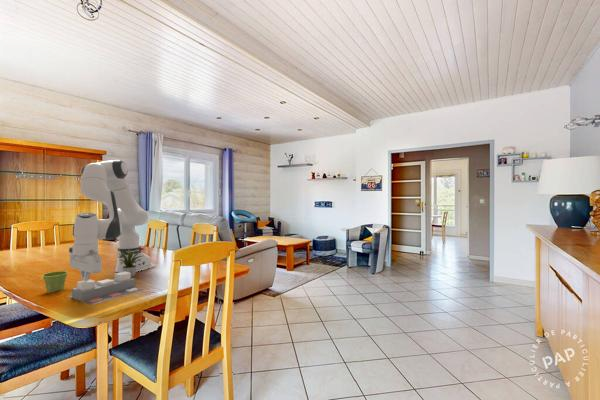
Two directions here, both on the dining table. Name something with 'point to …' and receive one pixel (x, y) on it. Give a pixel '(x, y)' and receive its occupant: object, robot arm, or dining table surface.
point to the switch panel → (105, 292)
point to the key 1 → (85, 285)
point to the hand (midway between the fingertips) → (85, 280)
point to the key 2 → (122, 276)
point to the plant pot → (55, 281)
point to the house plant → (129, 262)
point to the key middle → (105, 282)
